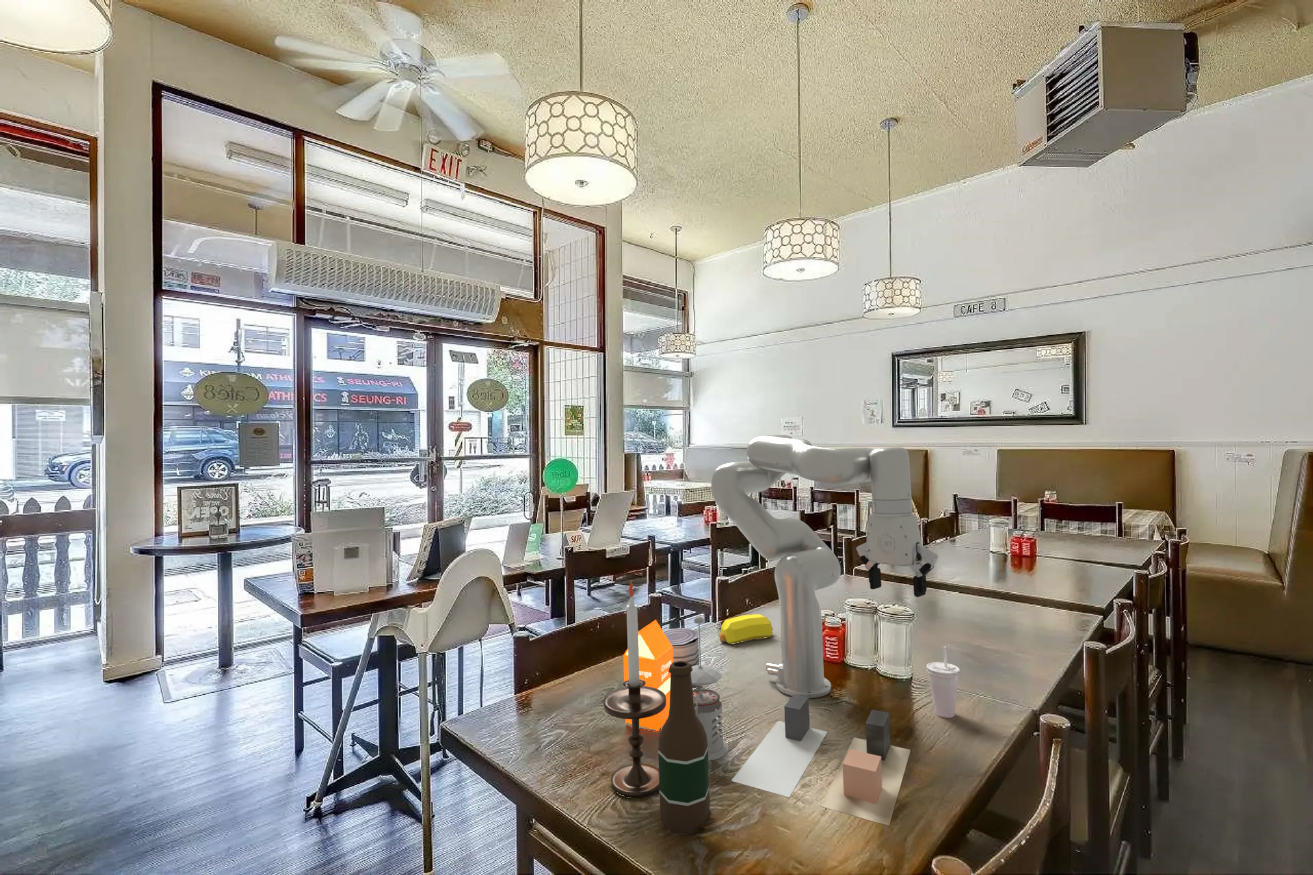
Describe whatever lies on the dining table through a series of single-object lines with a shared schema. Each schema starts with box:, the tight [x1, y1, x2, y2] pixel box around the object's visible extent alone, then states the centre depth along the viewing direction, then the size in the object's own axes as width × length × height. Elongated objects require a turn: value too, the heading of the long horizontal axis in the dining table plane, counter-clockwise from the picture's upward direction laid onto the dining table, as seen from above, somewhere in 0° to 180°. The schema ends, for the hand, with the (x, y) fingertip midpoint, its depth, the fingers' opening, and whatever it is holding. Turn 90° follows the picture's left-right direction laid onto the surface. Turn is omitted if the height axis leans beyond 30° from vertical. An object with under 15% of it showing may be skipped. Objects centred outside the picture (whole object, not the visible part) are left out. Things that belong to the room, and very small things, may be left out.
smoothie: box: [925, 645, 961, 719], centre depth 122 cm, size 6×6×14 cm
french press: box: [691, 615, 729, 761], centre depth 111 cm, size 10×12×25 cm
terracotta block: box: [843, 748, 882, 804], centre depth 94 cm, size 5×5×5 cm
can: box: [662, 627, 700, 689], centre depth 142 cm, size 11×11×12 cm
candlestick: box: [603, 579, 666, 799], centre depth 101 cm, size 11×11×35 cm
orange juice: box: [622, 619, 673, 732], centre depth 124 cm, size 8×9×20 cm
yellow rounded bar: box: [719, 613, 774, 644], centre depth 173 cm, size 18×7×8 cm
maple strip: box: [820, 709, 911, 827], centre depth 98 cm, size 10×24×7 cm, turn 149°
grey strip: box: [731, 695, 828, 798], centre depth 106 cm, size 10×24×7 cm, turn 149°
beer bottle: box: [657, 661, 711, 836], centre depth 90 cm, size 8×8×24 cm
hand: (897, 591), depth 119 cm, fingers open, 9 cm apart
